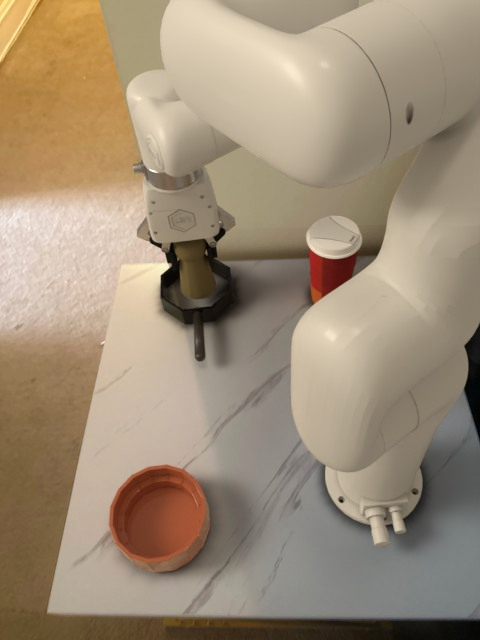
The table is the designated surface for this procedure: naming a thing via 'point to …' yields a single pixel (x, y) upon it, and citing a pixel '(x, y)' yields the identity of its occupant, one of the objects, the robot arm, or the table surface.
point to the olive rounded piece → (194, 269)
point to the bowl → (160, 518)
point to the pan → (201, 313)
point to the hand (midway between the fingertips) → (193, 261)
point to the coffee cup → (332, 253)
